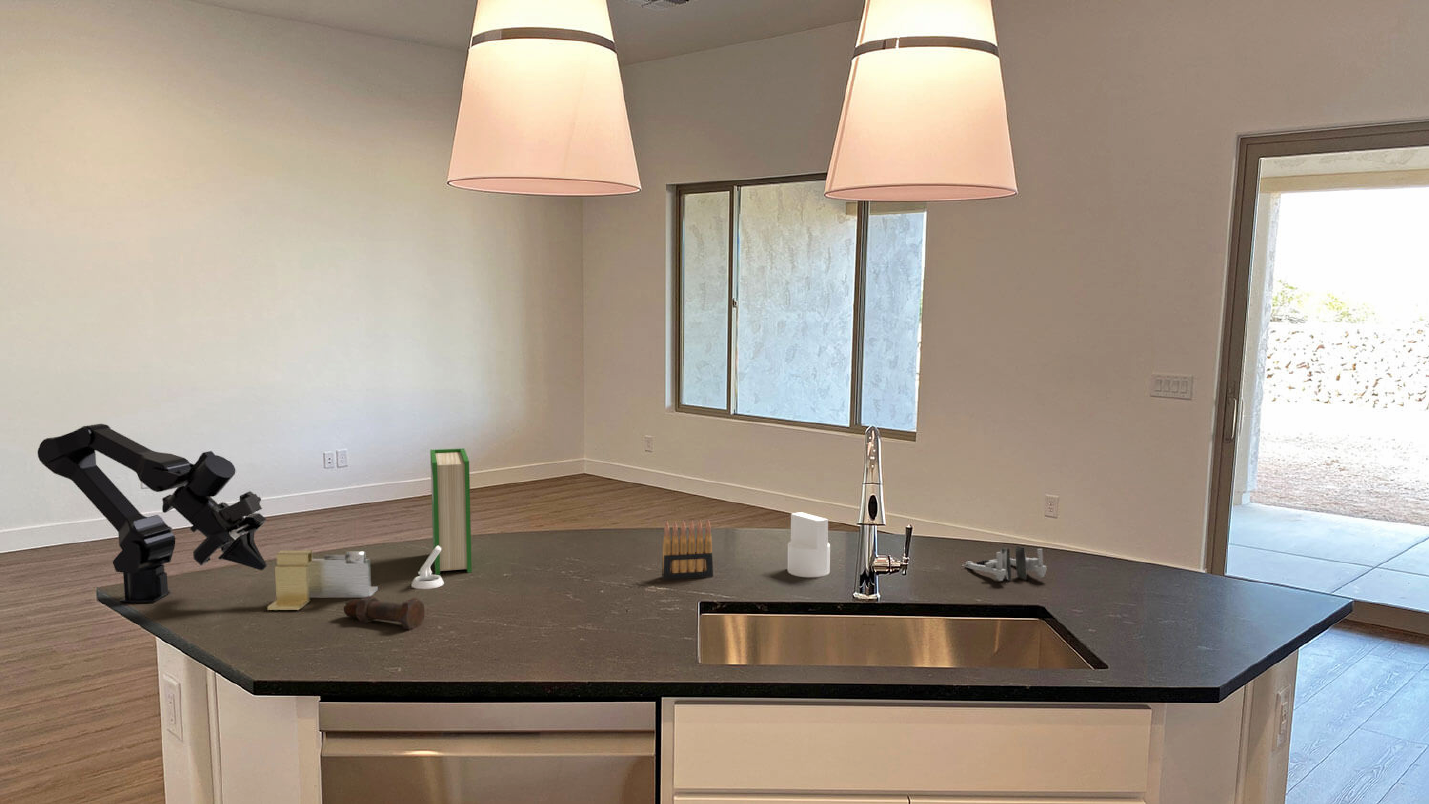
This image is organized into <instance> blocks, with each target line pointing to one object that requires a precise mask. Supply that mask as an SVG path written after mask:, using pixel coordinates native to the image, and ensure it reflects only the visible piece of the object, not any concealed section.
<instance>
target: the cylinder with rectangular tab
mask: <svg viewBox="0 0 1429 804" xmlns="http://www.w3.org/2000/svg"><path fill="white" fill-rule="evenodd" d="M828 536H829V519H827V518H825V517H822V516H817V515H813V514H809V513H806V512H803V511H800V512H799V511H798V512H793V513H790V541H788V543H787V573H788V574H790V575H792V576H795V577H801V578H819V577H825V576H828V575H829V574H830V571H831V569H830V568H831V565H830V564H831V563H830V561H831V558H830V557H831V544H830V543H829V541H828V539H829V537H828Z"/></svg>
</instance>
